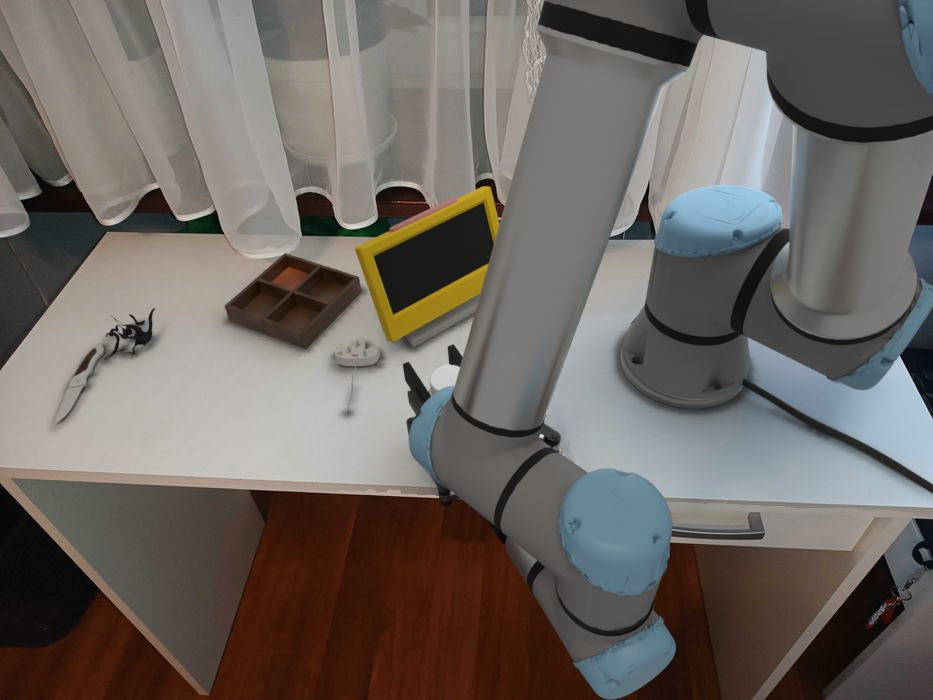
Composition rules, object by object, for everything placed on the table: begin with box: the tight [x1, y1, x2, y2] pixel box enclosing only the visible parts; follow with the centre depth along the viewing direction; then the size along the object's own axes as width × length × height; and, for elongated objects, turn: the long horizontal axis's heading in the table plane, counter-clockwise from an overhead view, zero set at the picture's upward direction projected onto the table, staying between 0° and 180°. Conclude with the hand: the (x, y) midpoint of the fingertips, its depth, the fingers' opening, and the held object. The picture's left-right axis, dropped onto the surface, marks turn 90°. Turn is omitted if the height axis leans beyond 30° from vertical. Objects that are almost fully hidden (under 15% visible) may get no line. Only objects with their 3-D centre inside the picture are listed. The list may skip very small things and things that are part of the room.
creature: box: [104, 307, 157, 361], centre depth 93 cm, size 8×5×8 cm
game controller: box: [334, 337, 382, 414], centre depth 88 cm, size 6×12×3 cm, turn 15°
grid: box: [224, 252, 363, 350], centre depth 98 cm, size 13×13×3 cm
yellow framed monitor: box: [354, 185, 500, 349], centre depth 91 cm, size 20×8×16 cm, turn 129°
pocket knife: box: [54, 343, 105, 424], centre depth 89 cm, size 14×1×2 cm
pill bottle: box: [428, 364, 460, 396], centre depth 77 cm, size 5×5×8 cm
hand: (429, 362), depth 79 cm, fingers closed on pill bottle, 5 cm apart
